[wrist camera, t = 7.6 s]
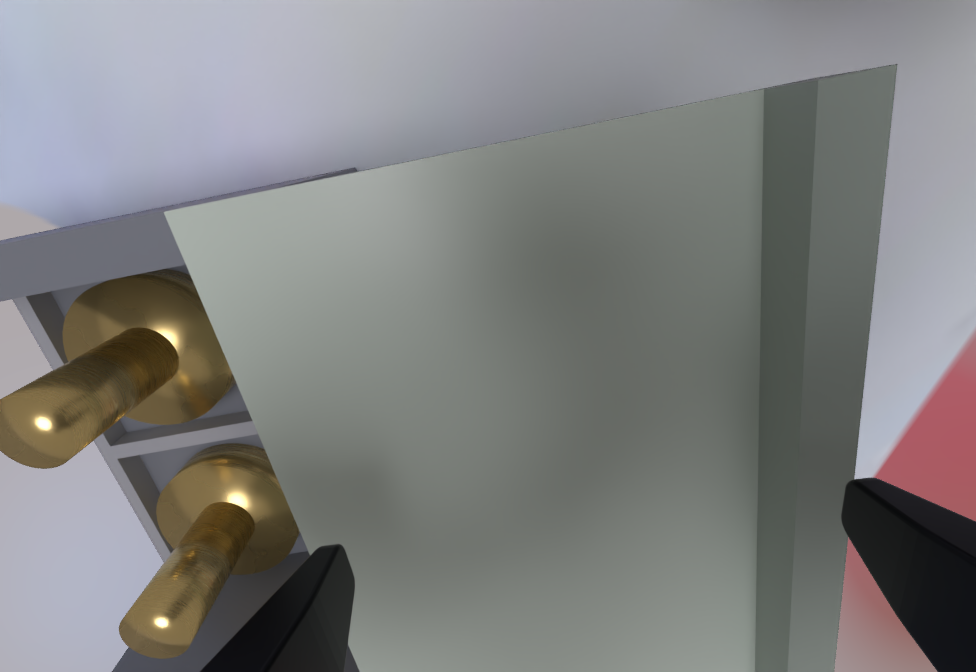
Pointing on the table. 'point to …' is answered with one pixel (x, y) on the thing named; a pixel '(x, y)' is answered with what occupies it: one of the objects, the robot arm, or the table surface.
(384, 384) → the lid
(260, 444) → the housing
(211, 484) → the brass knob
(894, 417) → the table surface
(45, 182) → the table surface
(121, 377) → the brass door knob
